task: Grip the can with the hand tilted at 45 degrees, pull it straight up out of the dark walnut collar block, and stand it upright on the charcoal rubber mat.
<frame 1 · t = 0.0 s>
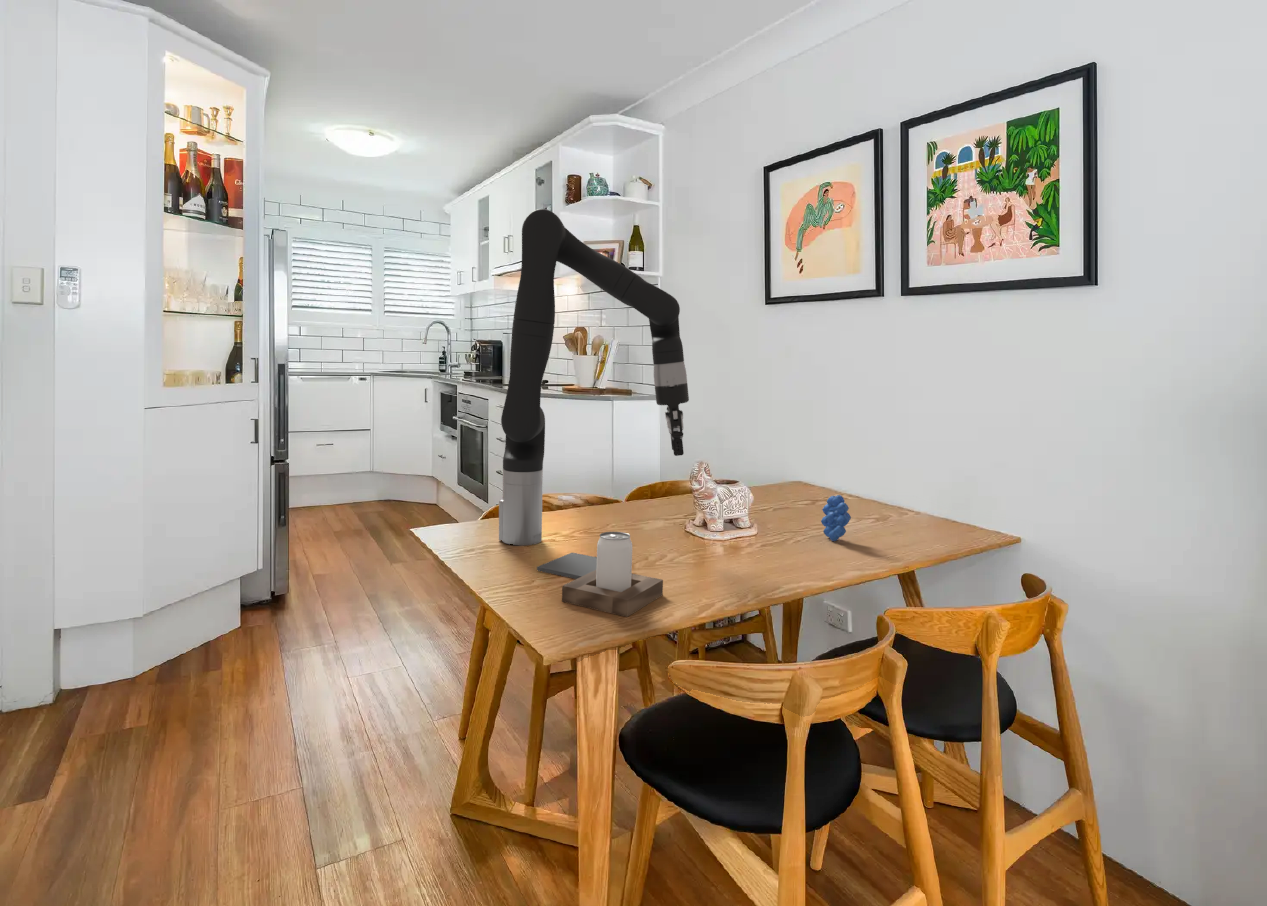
hand: (677, 452, 168), 22 cm above the table, tool pointing down, fingers open, 8 cm apart
grapes: (836, 541, 181), on the table
mat: (580, 568, 152), on the table
collar: (613, 598, 134), on the table
can: (613, 599, 134), resting in collar
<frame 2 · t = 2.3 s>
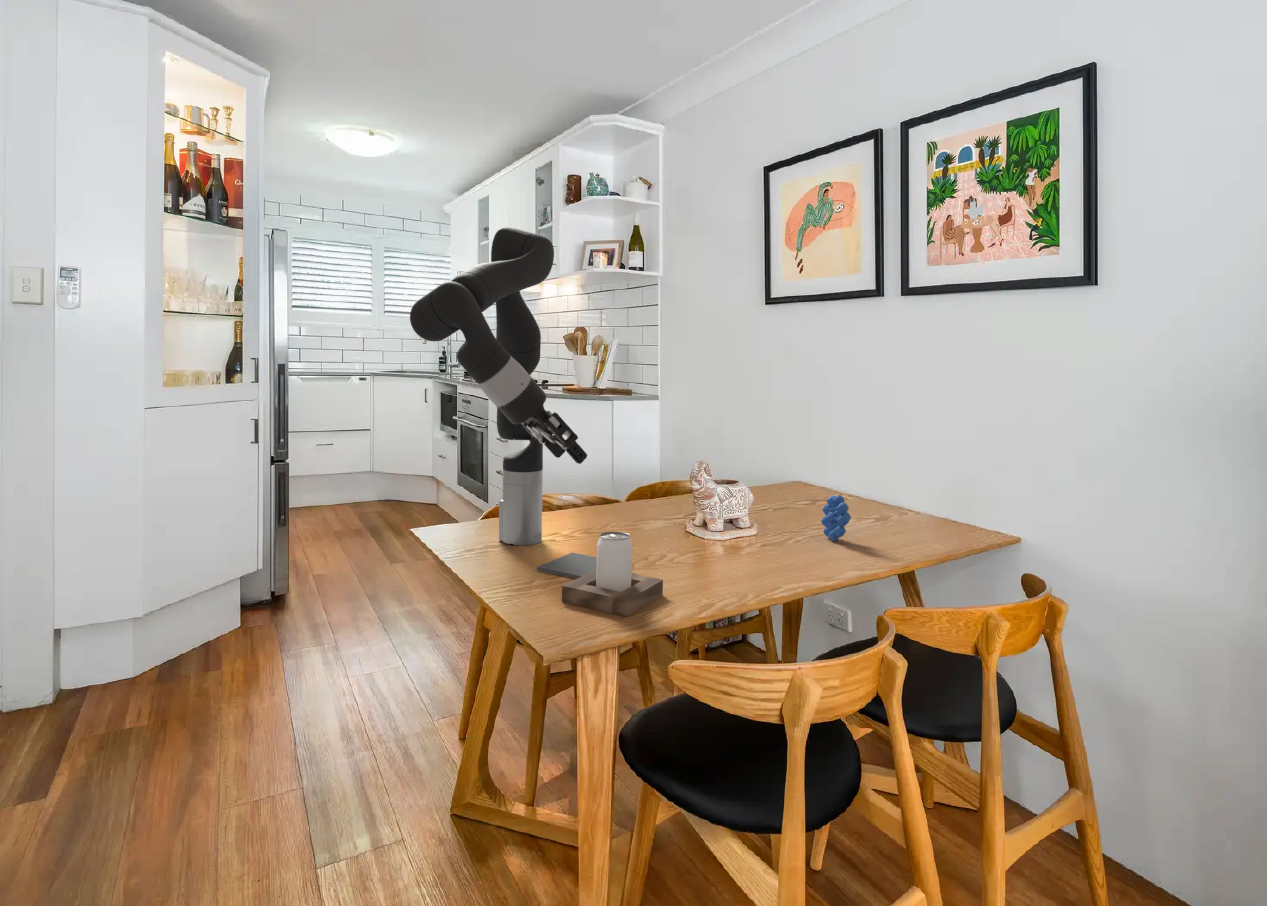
hand: (572, 457, 126), 27 cm above the table, tool tilted 45°, fingers open, 8 cm apart
nothing on the table moved.
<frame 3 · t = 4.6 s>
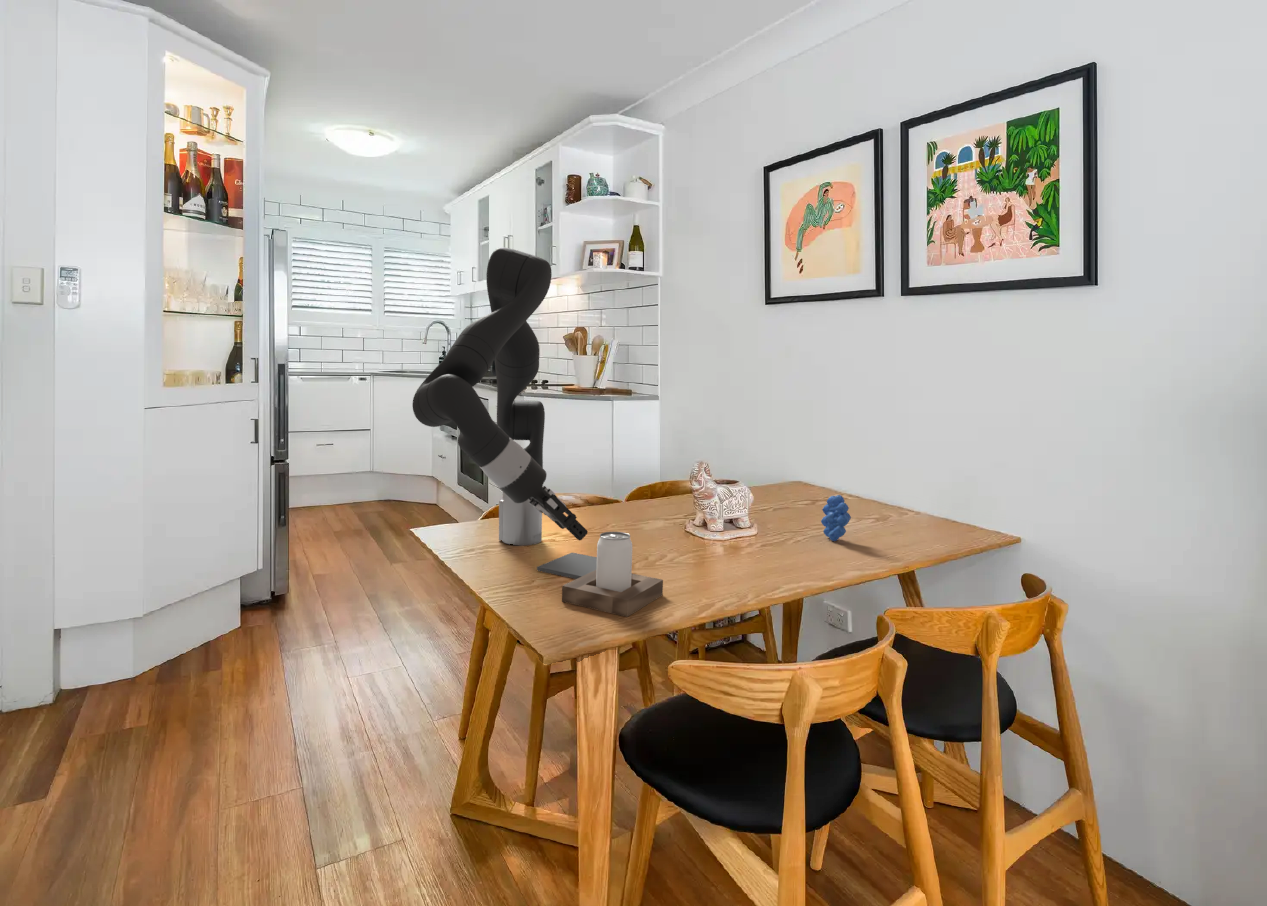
hand: (574, 530, 129), 14 cm above the table, tool tilted 45°, fingers open, 8 cm apart
nothing on the table moved.
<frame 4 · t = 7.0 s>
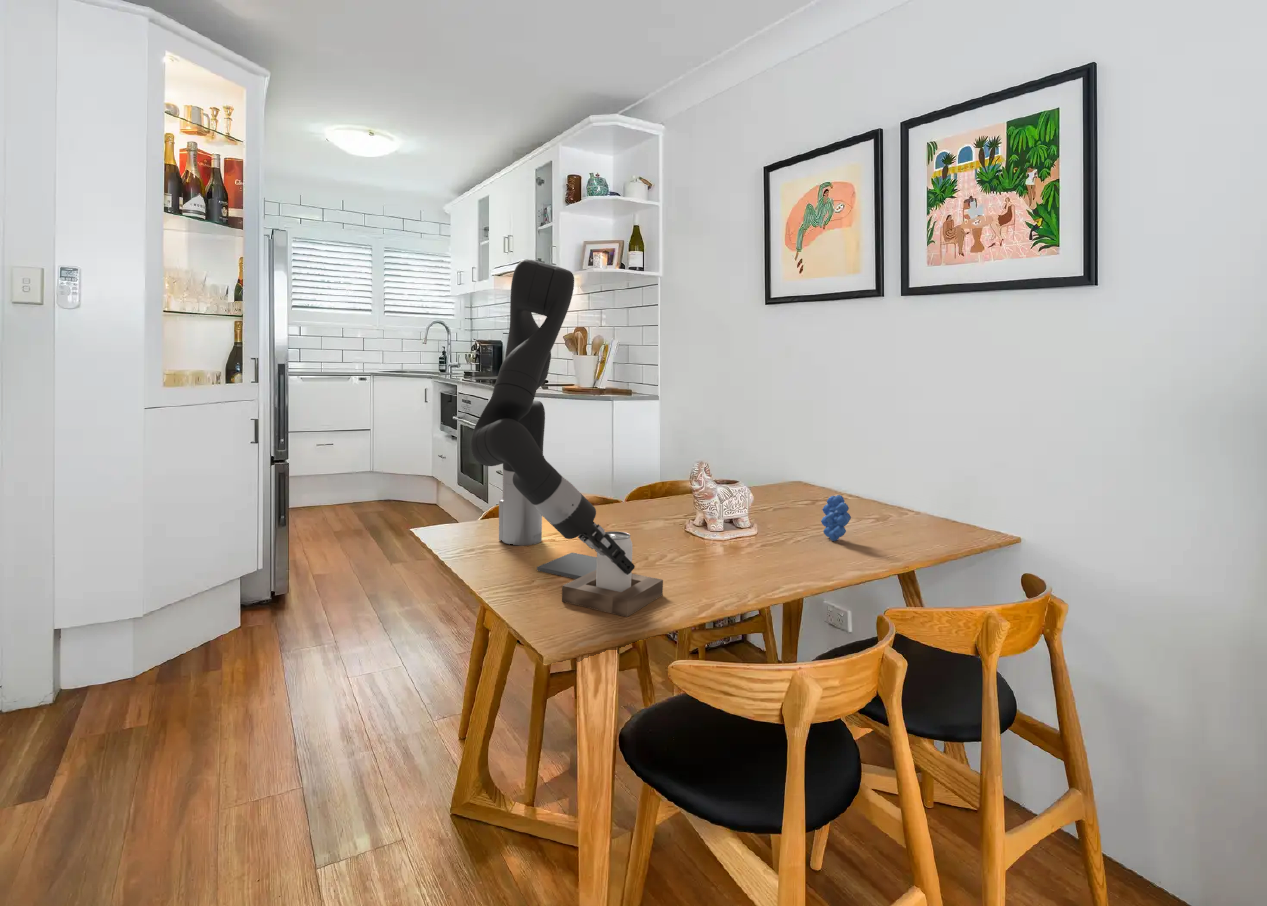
hand: (623, 565, 134), 6 cm above the table, tool tilted 45°, fingers closed on can, 5 cm apart
can: (613, 599, 134), resting in collar, touching gripper
everything else where it was.
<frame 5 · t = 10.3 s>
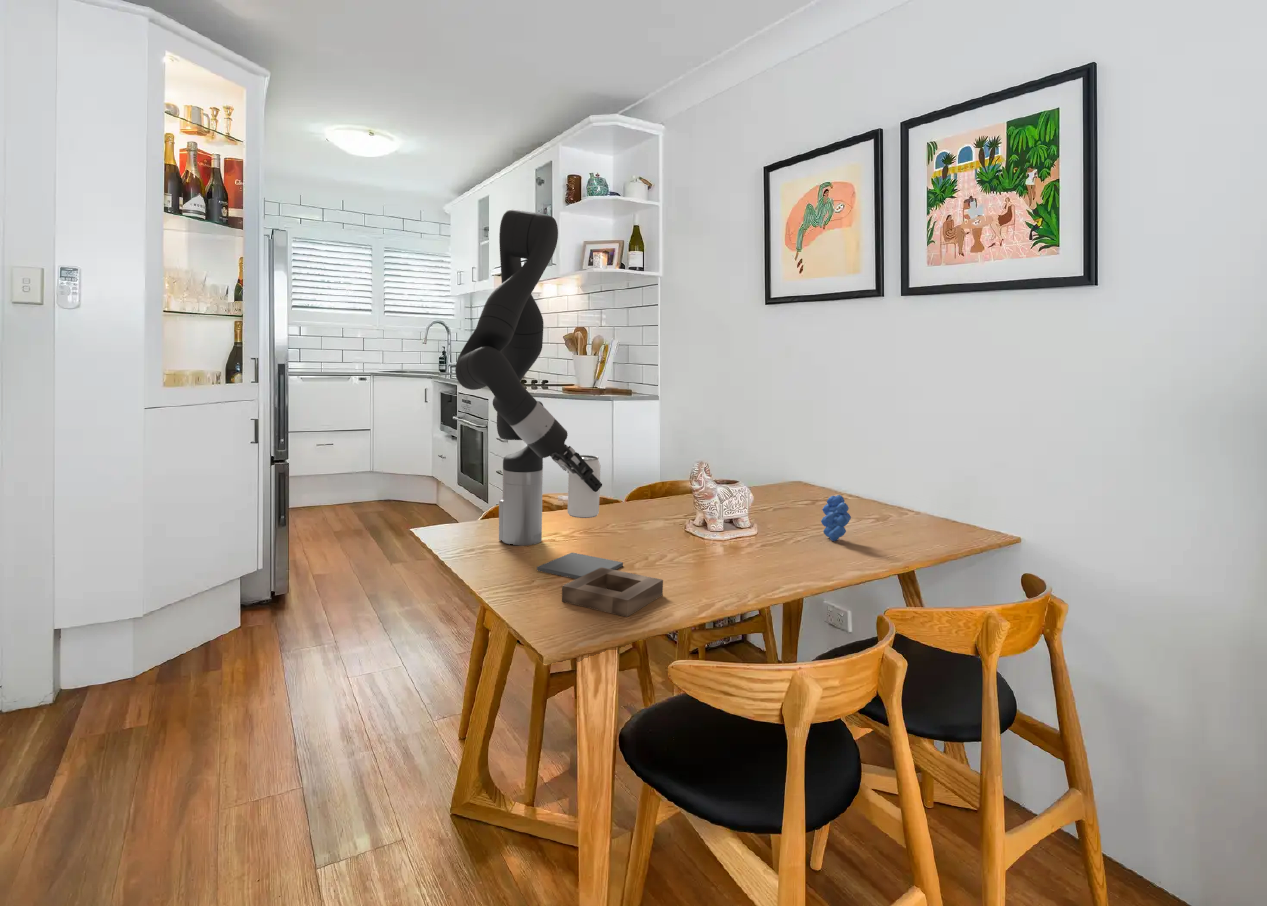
hand: (592, 485, 149), 18 cm above the table, tool tilted 45°, fingers closed on can, 5 cm apart
can: (583, 515, 150), point 11 cm above the table, touching gripper
everything else where it was.
when the fingers open (8 cm above the table, at t = 13.2 s): can drops 1 cm, resting on mat.
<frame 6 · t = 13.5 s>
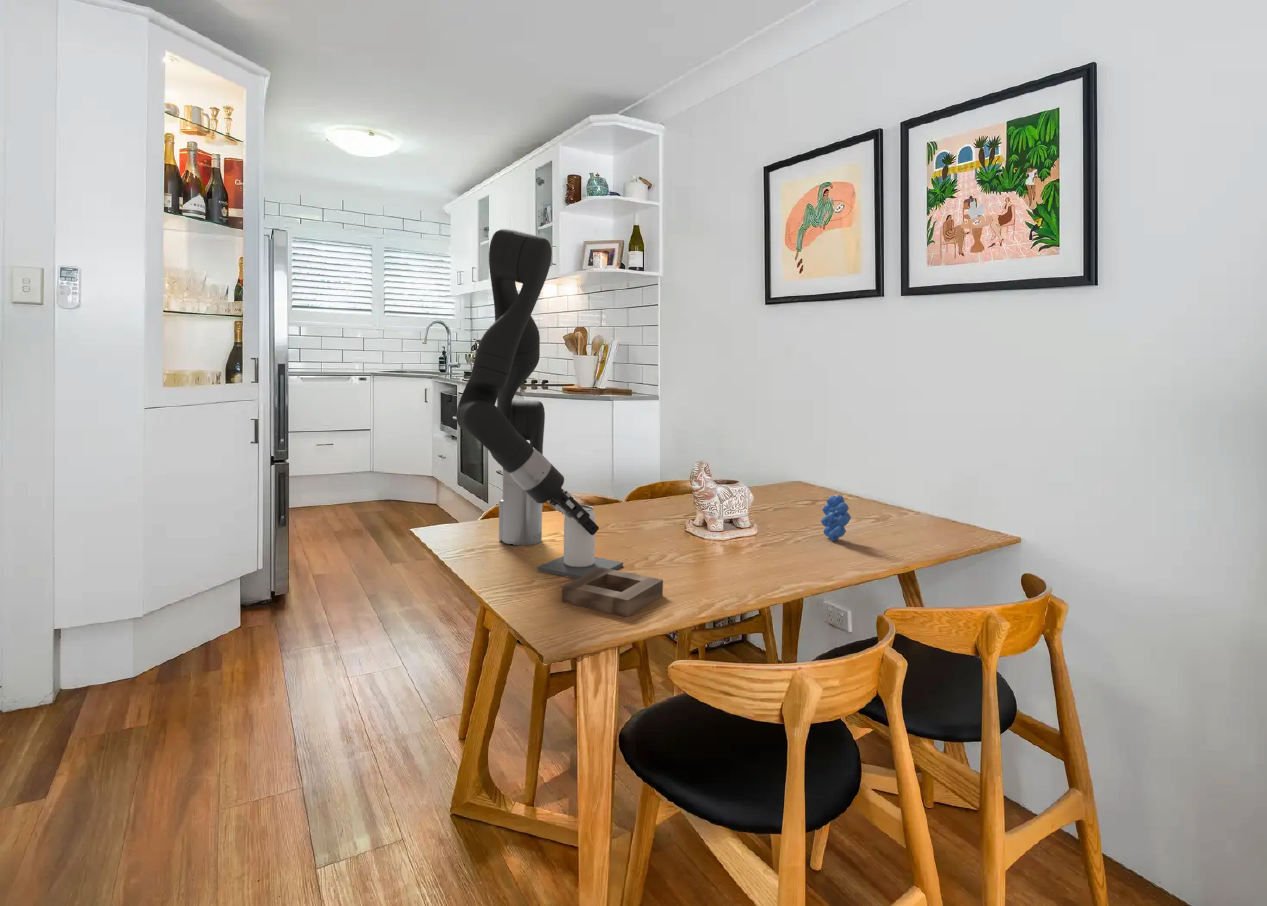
hand: (587, 527, 151), 9 cm above the table, tool tilted 45°, fingers open, 7 cm apart
can: (578, 564, 152), point 1 cm above the table, touching mat
everything else where it was.
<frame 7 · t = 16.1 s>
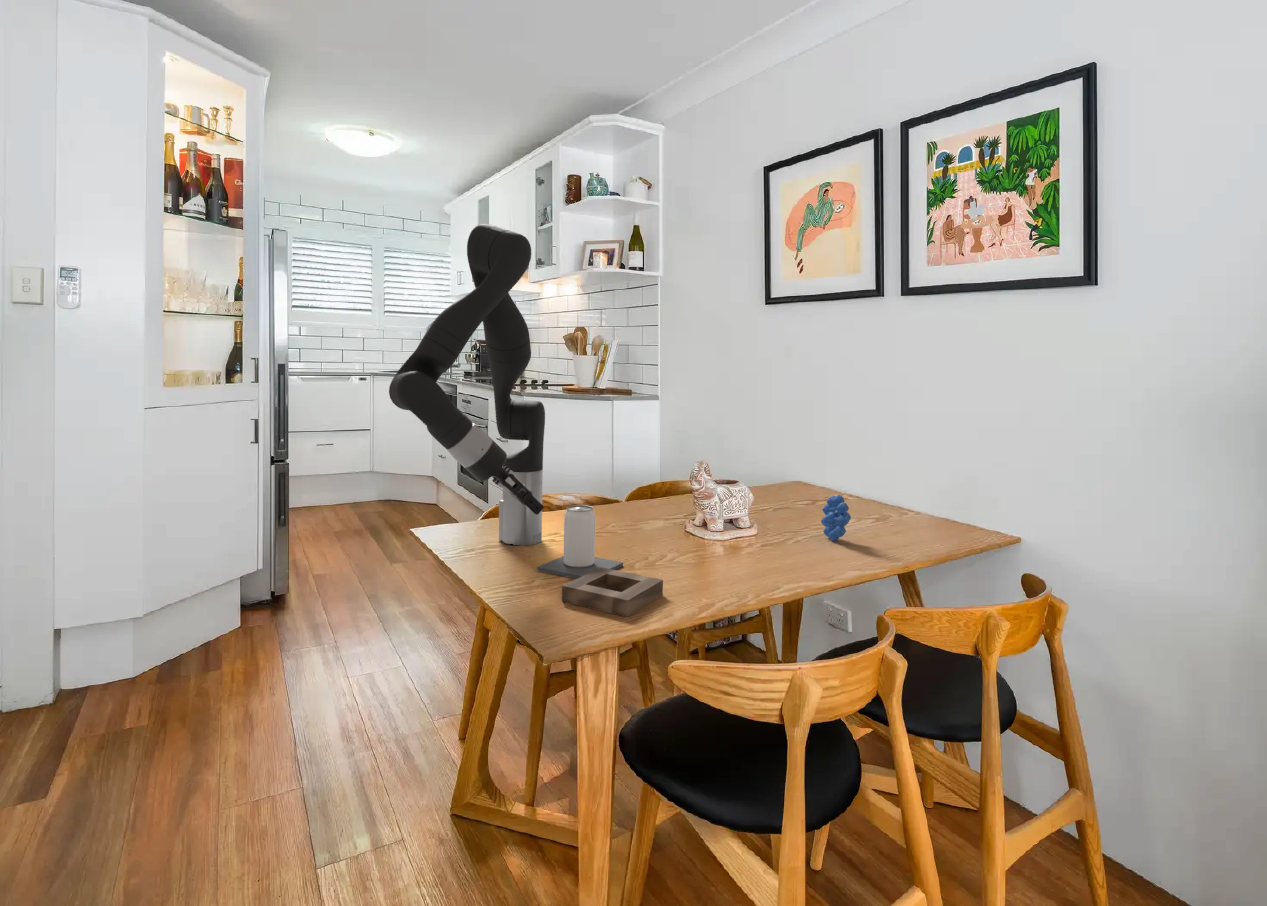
hand: (533, 505, 145), 14 cm above the table, tool tilted 45°, fingers open, 8 cm apart
nothing on the table moved.
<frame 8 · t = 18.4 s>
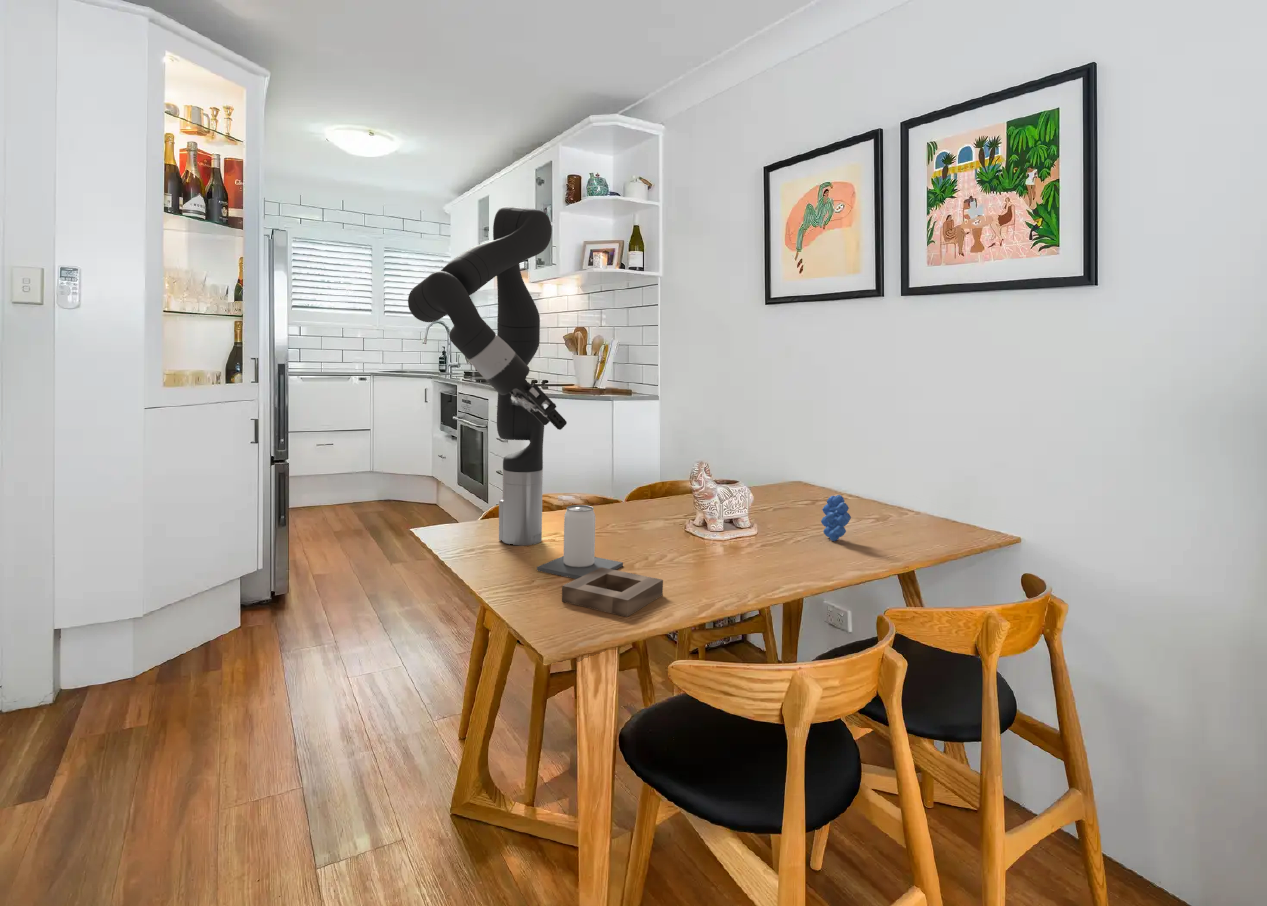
hand: (555, 424, 142), 31 cm above the table, tool tilted 45°, fingers open, 8 cm apart
nothing on the table moved.
at the end: can inside the target area on the mat (0.6 cm from its centre), point 0.6 cm above the mat's base; can tilted 0°; the gripper is holding nothing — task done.
